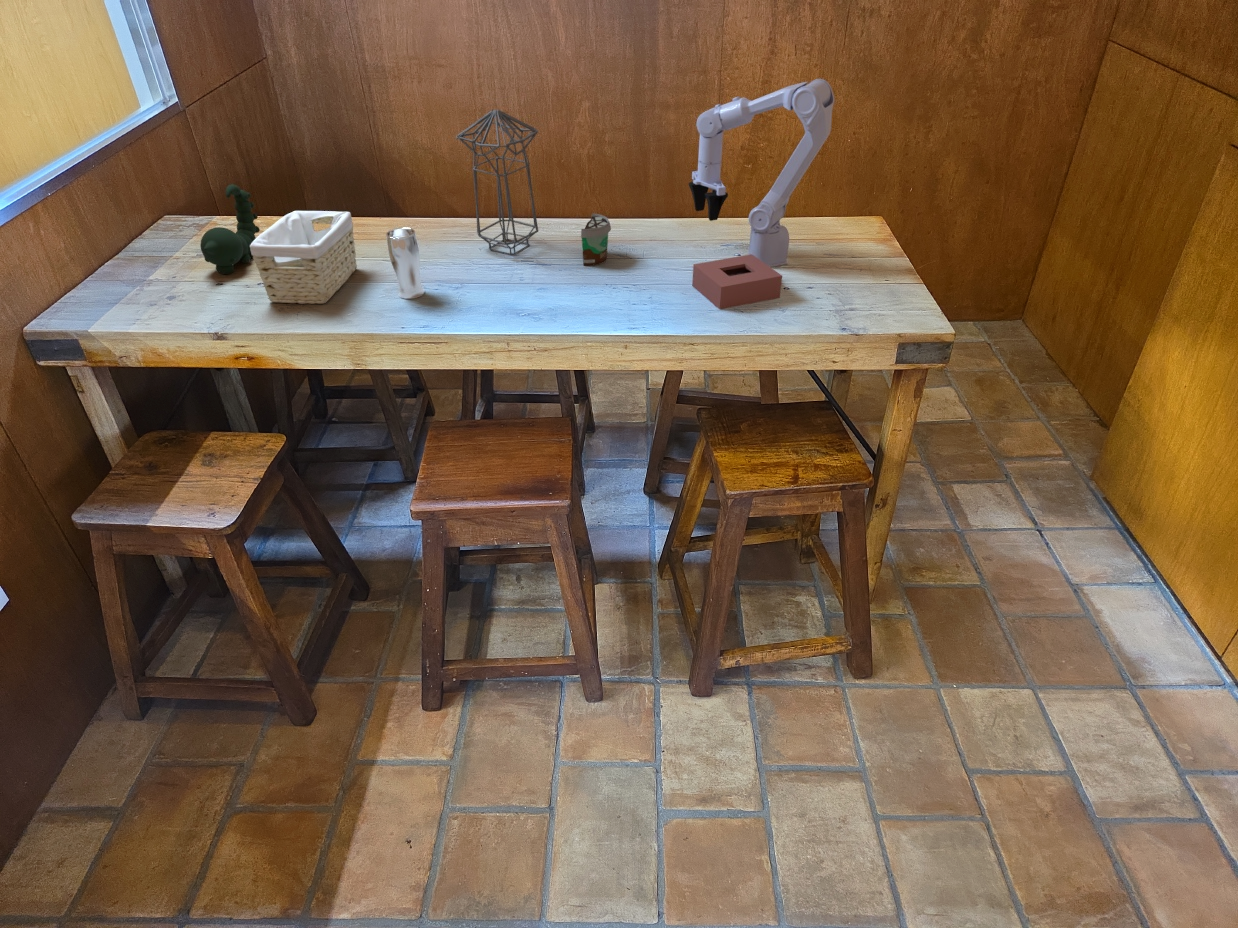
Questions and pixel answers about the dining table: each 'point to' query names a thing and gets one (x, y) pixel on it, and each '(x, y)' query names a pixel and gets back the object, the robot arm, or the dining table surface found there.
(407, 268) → the beer glass
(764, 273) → the box
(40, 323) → the dining table surface
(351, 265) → the storage basket
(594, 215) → the food container
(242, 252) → the toy figurine
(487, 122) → the geometric lantern
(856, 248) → the dining table surface
